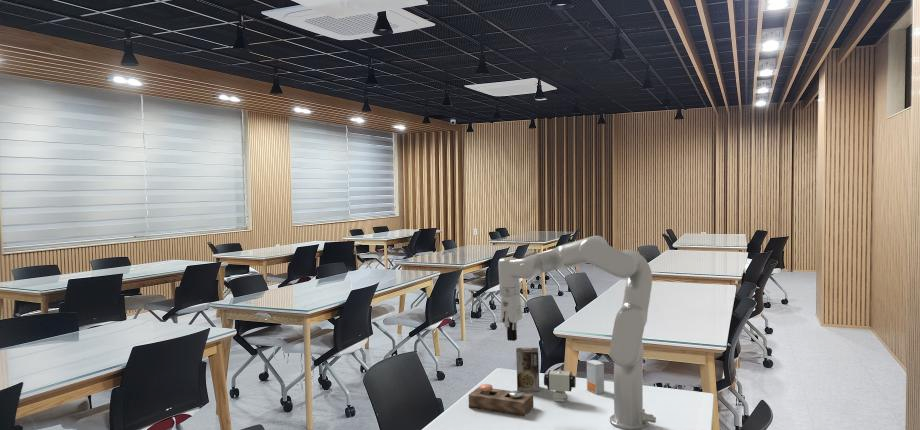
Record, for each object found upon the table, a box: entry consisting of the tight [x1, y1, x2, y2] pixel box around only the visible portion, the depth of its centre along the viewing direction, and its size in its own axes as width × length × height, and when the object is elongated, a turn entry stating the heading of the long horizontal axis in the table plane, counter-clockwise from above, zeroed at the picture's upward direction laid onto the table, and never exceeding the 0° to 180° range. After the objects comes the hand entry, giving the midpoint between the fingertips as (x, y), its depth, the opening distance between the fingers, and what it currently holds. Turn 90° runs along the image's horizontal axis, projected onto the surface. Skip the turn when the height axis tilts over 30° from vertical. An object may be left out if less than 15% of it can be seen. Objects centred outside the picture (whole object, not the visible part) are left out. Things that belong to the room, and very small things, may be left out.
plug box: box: [468, 386, 534, 418], centre depth 226 cm, size 22×10×5 cm, turn 64°
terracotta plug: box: [479, 383, 493, 395], centre depth 228 cm, size 5×5×5 cm
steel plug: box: [509, 390, 523, 399], centre depth 223 cm, size 5×5×5 cm
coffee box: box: [515, 347, 540, 392], centre depth 246 cm, size 9×6×16 cm
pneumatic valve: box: [543, 369, 577, 403], centre depth 232 cm, size 6×12×12 cm, turn 74°
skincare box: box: [586, 359, 605, 395], centre depth 241 cm, size 6×4×12 cm
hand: (512, 339), depth 224 cm, fingers closed
